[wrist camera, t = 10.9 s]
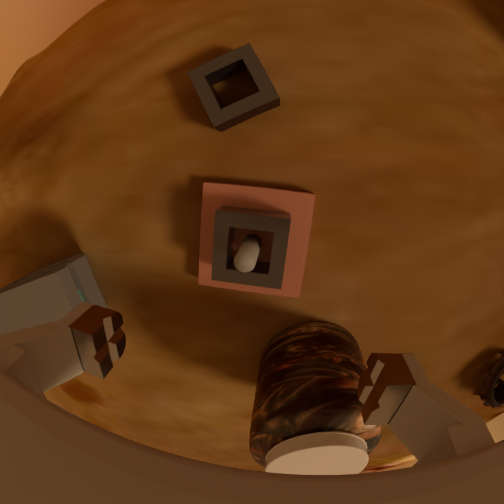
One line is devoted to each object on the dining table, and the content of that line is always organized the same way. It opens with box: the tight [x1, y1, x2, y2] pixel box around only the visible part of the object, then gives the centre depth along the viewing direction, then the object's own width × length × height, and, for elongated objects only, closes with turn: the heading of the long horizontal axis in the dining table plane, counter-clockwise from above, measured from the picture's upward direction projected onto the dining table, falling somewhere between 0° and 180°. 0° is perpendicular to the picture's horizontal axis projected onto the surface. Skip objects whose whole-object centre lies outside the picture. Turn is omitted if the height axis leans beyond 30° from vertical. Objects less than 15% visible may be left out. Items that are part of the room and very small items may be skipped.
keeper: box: [198, 182, 315, 298], centre depth 24 cm, size 10×10×7 cm
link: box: [211, 205, 291, 289], centre depth 24 cm, size 6×6×3 cm
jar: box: [249, 322, 382, 475], centre depth 24 cm, size 12×12×15 cm
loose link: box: [187, 44, 280, 132], centre depth 22 cm, size 6×6×3 cm
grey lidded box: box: [0, 253, 108, 335], centre depth 27 cm, size 25×8×11 cm, turn 106°
